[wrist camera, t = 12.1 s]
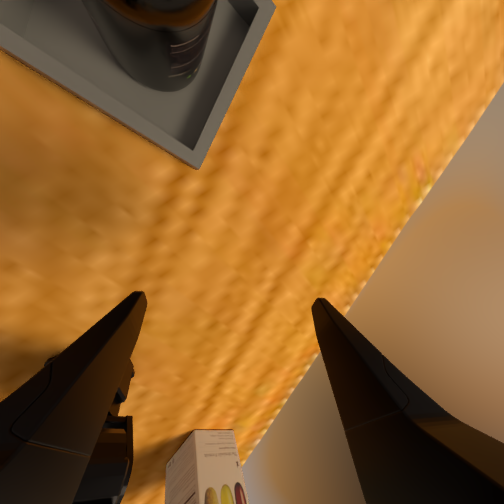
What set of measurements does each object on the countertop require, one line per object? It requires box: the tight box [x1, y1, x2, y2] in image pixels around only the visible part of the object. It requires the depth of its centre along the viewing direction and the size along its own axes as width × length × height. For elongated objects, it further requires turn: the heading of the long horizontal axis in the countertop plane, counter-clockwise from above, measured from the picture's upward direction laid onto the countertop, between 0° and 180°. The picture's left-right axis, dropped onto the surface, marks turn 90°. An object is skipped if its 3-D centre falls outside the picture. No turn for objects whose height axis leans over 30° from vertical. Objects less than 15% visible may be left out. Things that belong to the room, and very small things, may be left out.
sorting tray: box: [0, 0, 276, 170], centre depth 13 cm, size 13×13×2 cm
